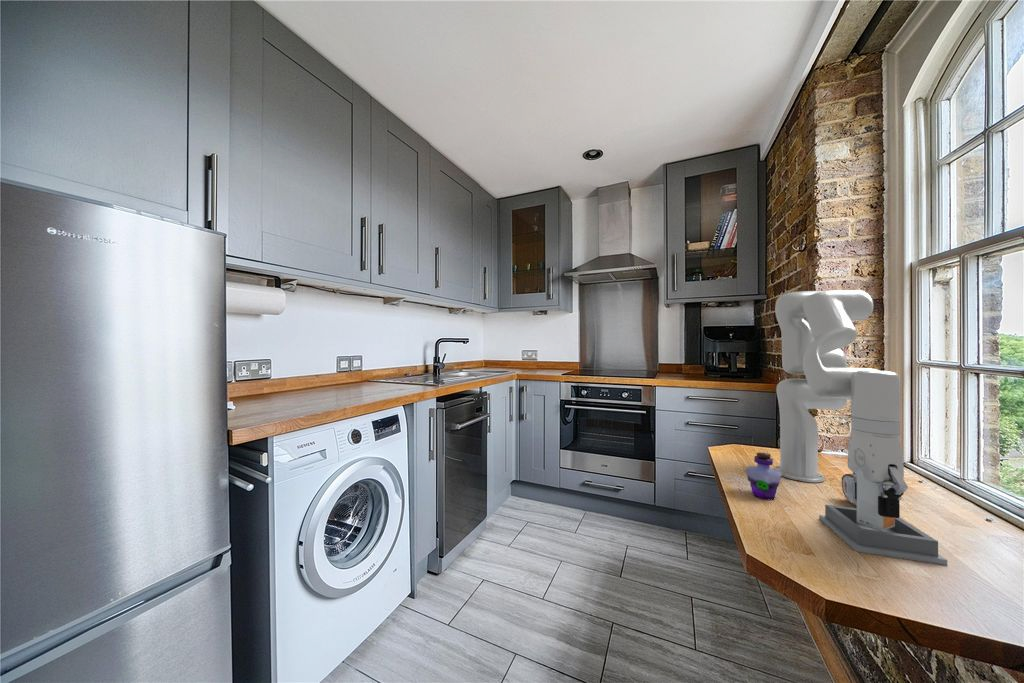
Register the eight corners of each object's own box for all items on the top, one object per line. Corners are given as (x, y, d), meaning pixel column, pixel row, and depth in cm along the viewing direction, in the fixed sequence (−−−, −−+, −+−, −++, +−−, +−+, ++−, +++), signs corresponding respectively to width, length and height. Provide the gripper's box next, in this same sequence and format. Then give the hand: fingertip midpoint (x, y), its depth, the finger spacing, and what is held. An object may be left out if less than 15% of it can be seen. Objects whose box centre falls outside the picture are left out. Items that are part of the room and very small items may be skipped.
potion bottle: (750, 500, 95) (750, 456, 95) (741, 487, 103) (741, 447, 103) (788, 505, 92) (788, 459, 92) (775, 492, 100) (775, 450, 100)
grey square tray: (819, 519, 84) (819, 502, 84) (893, 528, 80) (893, 511, 80) (856, 551, 71) (856, 531, 71) (947, 565, 67) (947, 544, 67)
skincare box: (882, 533, 72) (882, 475, 72) (856, 523, 76) (855, 468, 76) (896, 527, 75) (895, 471, 75) (869, 518, 79) (869, 465, 79)
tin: (901, 527, 81) (900, 491, 81) (885, 525, 81) (884, 490, 82) (852, 499, 96) (851, 469, 96) (838, 498, 96) (838, 468, 96)
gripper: (831, 418, 85) (831, 490, 85) (881, 434, 69) (882, 525, 68) (870, 420, 83) (870, 494, 83) (931, 438, 66) (932, 531, 66)
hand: (875, 507), depth 76 cm, fingers closed on skincare box, 6 cm apart
